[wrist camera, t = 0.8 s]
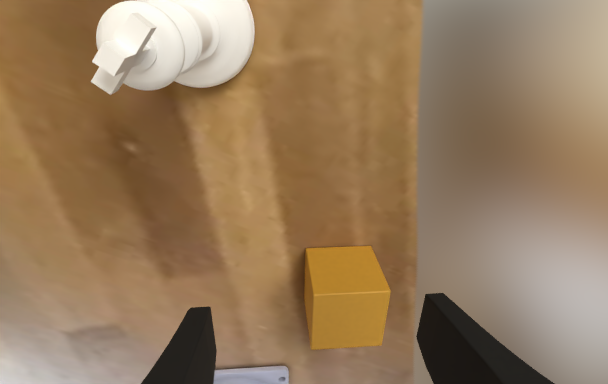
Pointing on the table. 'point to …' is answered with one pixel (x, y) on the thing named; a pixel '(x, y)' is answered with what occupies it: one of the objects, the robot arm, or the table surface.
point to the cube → (344, 297)
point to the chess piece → (172, 43)
